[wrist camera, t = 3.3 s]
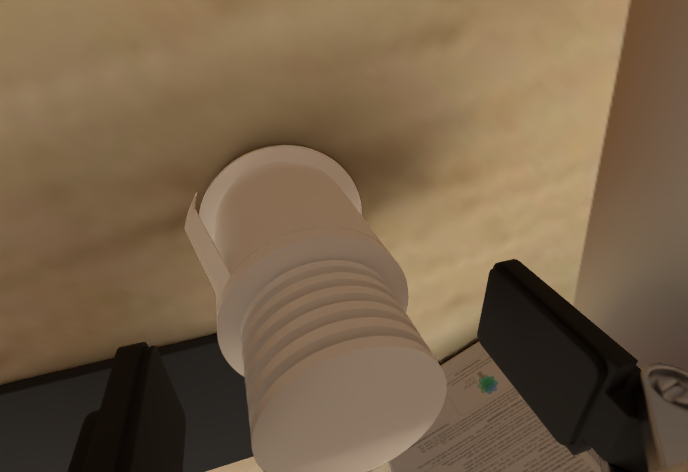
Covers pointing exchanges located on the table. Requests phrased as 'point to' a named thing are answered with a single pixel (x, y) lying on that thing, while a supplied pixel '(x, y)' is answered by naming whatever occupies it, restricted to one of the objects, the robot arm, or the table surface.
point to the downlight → (312, 315)
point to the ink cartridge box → (487, 427)
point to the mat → (86, 396)
